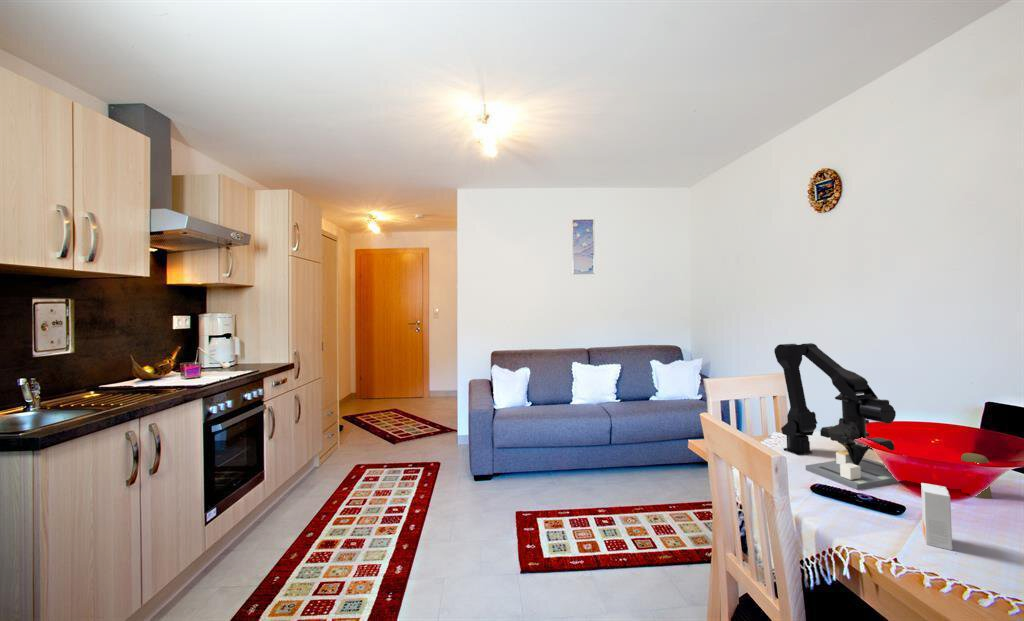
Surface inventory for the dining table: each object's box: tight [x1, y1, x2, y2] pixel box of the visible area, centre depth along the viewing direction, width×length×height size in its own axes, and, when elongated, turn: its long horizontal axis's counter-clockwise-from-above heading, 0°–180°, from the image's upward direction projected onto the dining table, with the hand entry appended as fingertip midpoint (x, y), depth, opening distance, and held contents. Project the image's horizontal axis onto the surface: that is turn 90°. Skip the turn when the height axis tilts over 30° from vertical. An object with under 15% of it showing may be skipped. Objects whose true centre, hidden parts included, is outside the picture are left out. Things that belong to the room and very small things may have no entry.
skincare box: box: [920, 482, 953, 551], centre depth 94 cm, size 6×4×12 cm
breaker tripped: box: [835, 450, 853, 464], centre depth 136 cm, size 3×4×4 cm
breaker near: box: [840, 463, 861, 480], centre depth 126 cm, size 3×4×4 cm
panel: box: [805, 456, 899, 491], centre depth 132 cm, size 16×24×2 cm, turn 105°
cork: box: [960, 452, 993, 500], centre depth 117 cm, size 6×6×11 cm
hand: (856, 465), depth 133 cm, fingers closed
